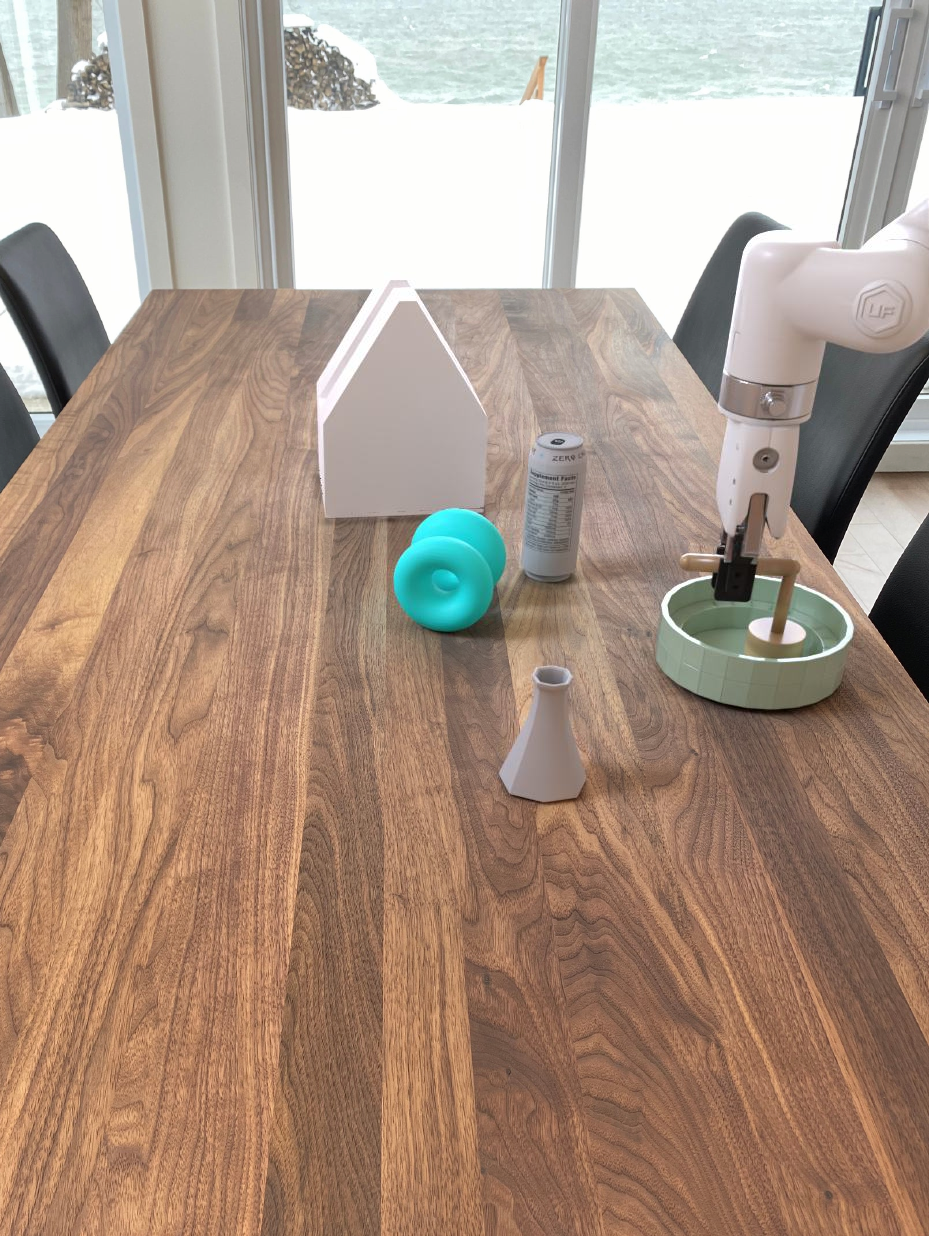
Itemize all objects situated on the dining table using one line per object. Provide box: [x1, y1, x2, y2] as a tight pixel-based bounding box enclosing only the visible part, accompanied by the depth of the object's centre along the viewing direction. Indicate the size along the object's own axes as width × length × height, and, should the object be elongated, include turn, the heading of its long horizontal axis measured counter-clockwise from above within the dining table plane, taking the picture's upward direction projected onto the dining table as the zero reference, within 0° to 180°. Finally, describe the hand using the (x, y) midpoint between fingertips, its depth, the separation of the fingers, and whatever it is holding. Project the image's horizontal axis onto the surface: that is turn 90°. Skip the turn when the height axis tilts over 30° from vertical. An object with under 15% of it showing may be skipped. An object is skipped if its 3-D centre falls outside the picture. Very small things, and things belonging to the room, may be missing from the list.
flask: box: [498, 665, 587, 803], centre depth 95 cm, size 7×7×10 cm
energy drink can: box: [520, 431, 589, 583], centre depth 126 cm, size 6×6×15 cm
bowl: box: [653, 574, 855, 710], centre depth 111 cm, size 17×17×6 cm
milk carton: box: [316, 267, 490, 519], centre depth 142 cm, size 19×15×25 cm
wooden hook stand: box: [679, 552, 806, 659], centre depth 109 cm, size 12×5×10 cm, turn 82°
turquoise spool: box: [393, 508, 507, 633], centre depth 119 cm, size 10×10×10 cm
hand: (730, 593), depth 108 cm, fingers closed on wooden hook stand, 1 cm apart
